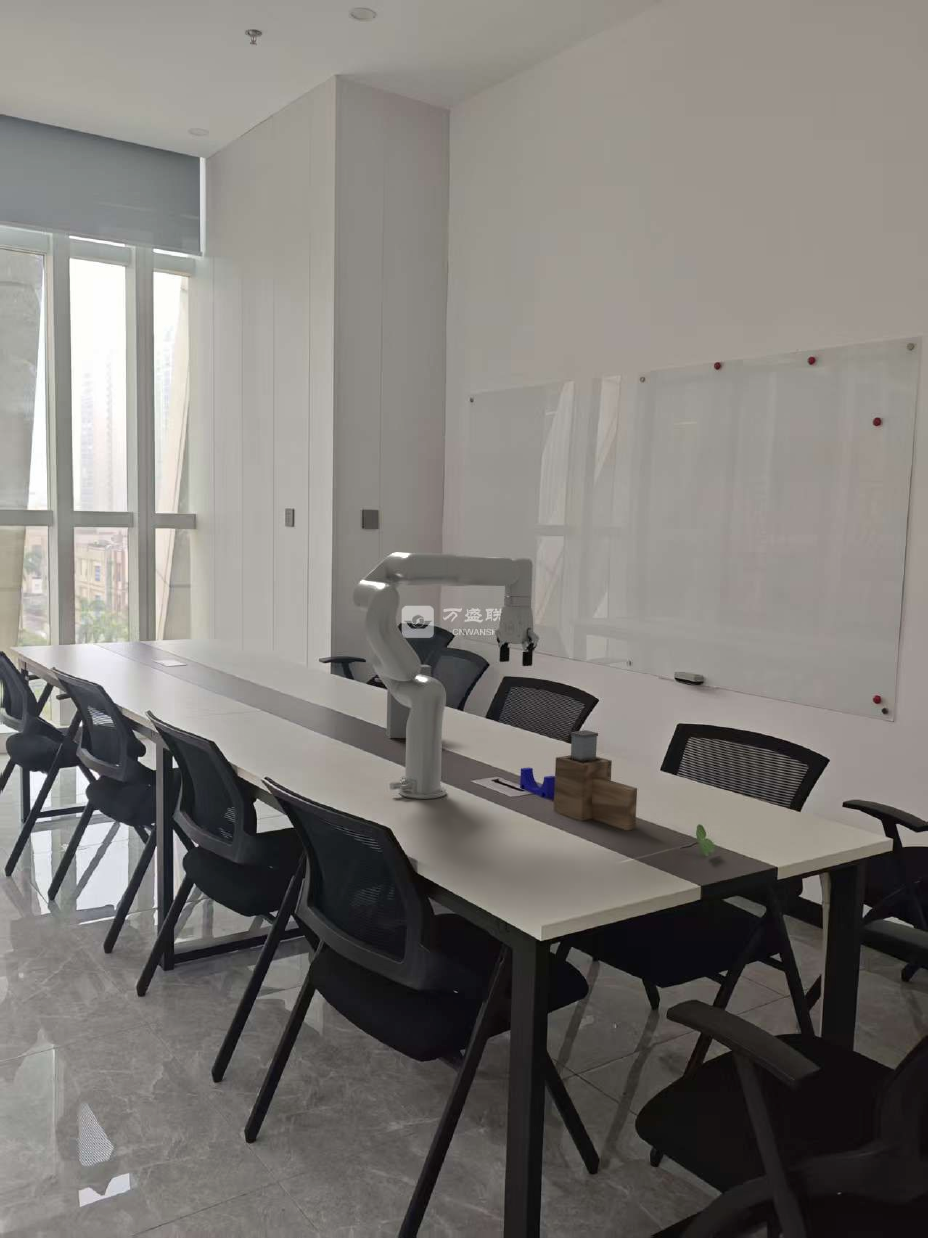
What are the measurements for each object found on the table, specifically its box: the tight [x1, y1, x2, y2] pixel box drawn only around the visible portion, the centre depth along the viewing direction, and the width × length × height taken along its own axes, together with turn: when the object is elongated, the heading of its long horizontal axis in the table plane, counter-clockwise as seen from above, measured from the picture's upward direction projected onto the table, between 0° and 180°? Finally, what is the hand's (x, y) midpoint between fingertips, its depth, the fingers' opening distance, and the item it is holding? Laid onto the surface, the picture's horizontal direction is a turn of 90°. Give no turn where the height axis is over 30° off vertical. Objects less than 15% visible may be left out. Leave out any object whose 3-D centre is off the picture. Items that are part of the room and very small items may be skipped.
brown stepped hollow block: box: [553, 754, 638, 831], centre depth 257 cm, size 10×22×14 cm, turn 38°
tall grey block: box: [385, 664, 432, 739], centre depth 345 cm, size 14×6×25 cm, turn 108°
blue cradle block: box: [519, 767, 555, 799], centre depth 281 cm, size 12×4×6 cm, turn 33°
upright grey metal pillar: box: [570, 729, 599, 763], centre depth 261 cm, size 5×4×11 cm
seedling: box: [679, 824, 716, 857], centre depth 233 cm, size 7×8×7 cm
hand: (515, 663), depth 286 cm, fingers open, 9 cm apart
